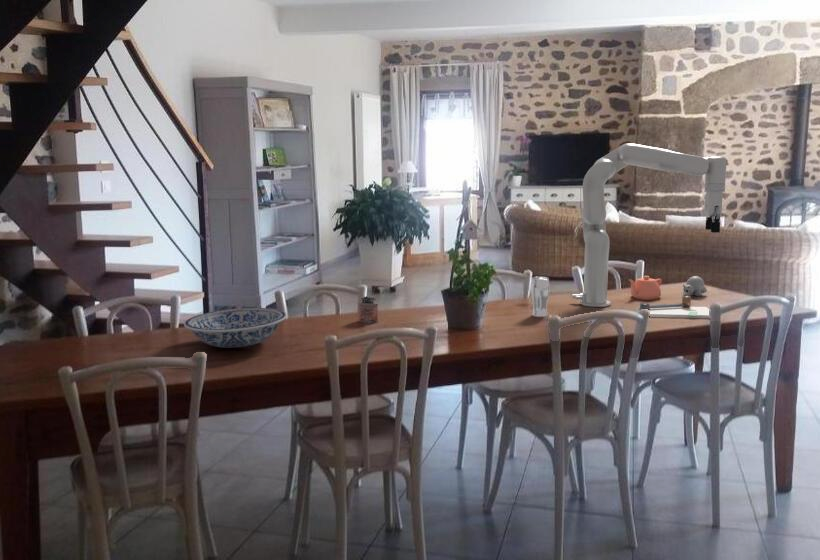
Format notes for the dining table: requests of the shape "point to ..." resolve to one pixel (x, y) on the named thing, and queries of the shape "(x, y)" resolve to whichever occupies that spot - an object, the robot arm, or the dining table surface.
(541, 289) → the beer glass
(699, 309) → the tuner dial board
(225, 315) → the ceramic bowl
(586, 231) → the robot arm
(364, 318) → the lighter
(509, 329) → the dining table surface
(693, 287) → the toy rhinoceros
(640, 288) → the teapot
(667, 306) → the tuning lever
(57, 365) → the dining table surface
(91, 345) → the dining table surface
